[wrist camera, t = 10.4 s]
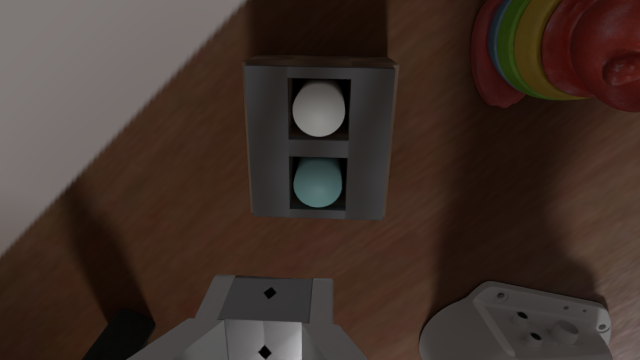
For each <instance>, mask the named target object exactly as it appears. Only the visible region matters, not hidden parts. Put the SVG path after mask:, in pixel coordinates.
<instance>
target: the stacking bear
mask: <svg viewBox="0 0 640 360" xmlns="http://www.w3.org/2000/svg"><path fill="white" fill-rule="evenodd" d="M470 60H471V69H472V75H473V78H474V82H475V85H476V87H477V89H478V91H479V93H480V95H481V97H482V99H483V100H484V101H485V103H487V104H488V105H490V106H497V107H499V108H506V107H509V106H510V105H511V104H515V103H517V102H519V101H520V100H521V99H522V98H523V97H524V96H525V95H526V94H527V95H529V96H532V97H536V98H540V99H547V100H579V99H587V98H595V97H597V98H598V99H599V100H601V101H602V102H603V103H605V104H607V105H609V106H611V107H613V108H616V109H618V110H622V111H627V112H640V0H487V1H486V2H485V3H484V5H483V6H482V8H481V9H480V11H479V13H478V15H477V17H476V20H475V23H474V26H473V31H472V37H471V46H470Z"/></svg>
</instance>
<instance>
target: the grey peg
mask: <svg viewBox="0 0 640 360" xmlns="http://www.w3.org/2000/svg"><path fill="white" fill-rule="evenodd" d="M344 116H345V105H344V96H343V88H342V85H341V83H340V81H339V80H338V79H318V78H307V79H306V80H305V82H304V83H303V85H302V87H301V89H300V91H299V93H298V95H297V97H296V99H295V101H294V104H293V117H294V120H295V122H296V124H297V125H298V127H299V128H300V129H301V130H302V131H304V132H305V133H307V134H309V135H312V136H318V137H320V136H326V135H329V134H331V133H333V132H334V131H336V130H337V129H338V128H339V127H340V125H341V124H342V122H343V119H344Z"/></svg>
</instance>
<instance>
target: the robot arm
mask: <svg viewBox="0 0 640 360" xmlns="http://www.w3.org/2000/svg"><path fill="white" fill-rule="evenodd" d="M499 293H501V294H499ZM497 294H499V295H497ZM610 336H611V319H610V316H609V313H608V311H607V310H606V308H605V307H604V306H603V305H602V304H601V303H598V302H593V301H588V300H583V299H579V298H574V297H569V296H564V295H559V294H554V293H549V292H544V291H539V290H534V289H529V288H524V287H519V286H514V285H510V284H505V283H500V282H495V281H487V282H484V283H482V284H481V285H479V286H478V287H477V288H476V289H475V290H474V291H472V292H471V293H470V294H469V295H468V296H467V297H466V298H464V299H462V300H460V301H458V302H455V303H453V304H451V305H449V306H447V307H445V308H444V309H442V310H441V311H439V312H438V313H437V314H436V315H435V316H433V317H432V318H431V320H430V321H429V322H428V323H427V325H426V326H425V328H424V330H423V332H422V334H421V337H420V342H419V350H420V355H421V358H422V360H613V358H612V355H611V353H610V350H609V348H608V345H609V341H610ZM127 360H368V359H367V358H366V357H365V355H364V354H363V353H362V352H361V351H360V349H359V348H358V347H357V346H356V345H355V344H354V342H353V341H352V340H351V339H350V338H349V336H348V335H347V334H346V333H345V332H344V330H343V329H342V328H341V327H340V326H339V325H333V279H317V278H313V279H294V278H274V277H258V276H242V275H237V276H236V275H220V274H218V275H216V276H215V277H214V279H213V281H212V283H211V285H210V287H209V289H208V291H207V293H206V295H205V297H204V299H203V301H202V303H201V306H200V308H199V310H198V312H197V314H196V316H195V318H194V319H187V320H185V321H184V322H182V323H181V324H179V325H178V326H176V327H175V328H173V329H172V330H170V331H169V332H167V333H166V334H164V335H163V336H161V337H160V338H158V339H157V340H155V341H154V342H152V343H151V344H149V345H148V346H146V347H145V348H143V349H142V350H140V351H139V352H137V353H136V354H134V355H133V356H131V357H130V358H128V359H127Z"/></svg>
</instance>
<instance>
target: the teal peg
mask: <svg viewBox="0 0 640 360" xmlns="http://www.w3.org/2000/svg"><path fill="white" fill-rule="evenodd" d="M341 189H342V177H341V158H334V157H300V159H299V163H298V167H297V171H296V175H295V178H294V191H295V193H296V195H297V197H298V198H299V199H300V200H301V201H302V202H303V203H305V204H306V205H309V206H312V207H324V206H328V205H330V204H332V203H333V202H334V201H335V200H336V199H337V198H338V197H339V195H340V193H341Z"/></svg>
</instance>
